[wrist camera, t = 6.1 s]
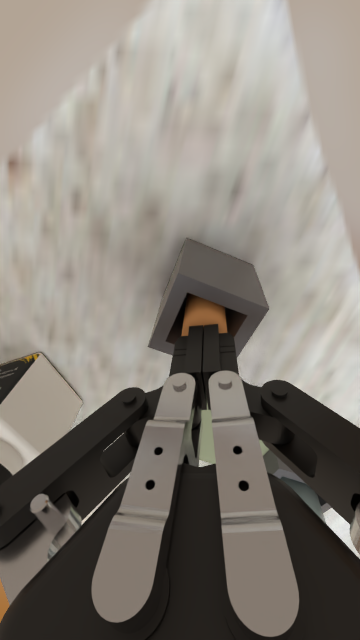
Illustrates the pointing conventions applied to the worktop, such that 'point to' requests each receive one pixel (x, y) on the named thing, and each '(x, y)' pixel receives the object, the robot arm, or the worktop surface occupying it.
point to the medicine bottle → (32, 411)
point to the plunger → (203, 314)
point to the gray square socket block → (210, 295)
